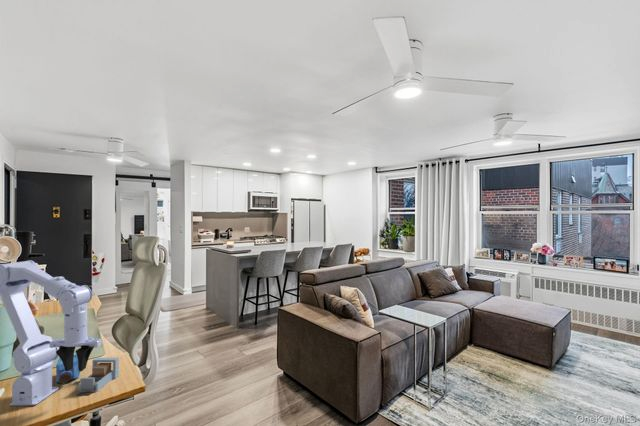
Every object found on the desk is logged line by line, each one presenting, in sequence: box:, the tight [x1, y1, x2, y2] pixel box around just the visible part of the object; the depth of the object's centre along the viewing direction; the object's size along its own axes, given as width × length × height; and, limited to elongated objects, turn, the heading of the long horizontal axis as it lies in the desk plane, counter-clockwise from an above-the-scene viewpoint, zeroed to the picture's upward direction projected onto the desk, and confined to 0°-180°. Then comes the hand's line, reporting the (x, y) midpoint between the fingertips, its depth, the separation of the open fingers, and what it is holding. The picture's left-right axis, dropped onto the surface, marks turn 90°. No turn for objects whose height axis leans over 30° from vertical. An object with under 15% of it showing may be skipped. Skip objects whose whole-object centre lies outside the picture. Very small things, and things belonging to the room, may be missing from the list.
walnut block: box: [91, 362, 112, 377], centre depth 111 cm, size 4×4×4 cm
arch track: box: [77, 357, 121, 396], centre depth 110 cm, size 16×8×7 cm, turn 2°
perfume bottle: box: [55, 354, 81, 384], centre depth 112 cm, size 6×6×12 cm
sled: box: [80, 369, 113, 391], centre depth 109 cm, size 10×4×4 cm, turn 2°
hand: (75, 369), depth 99 cm, fingers open, 3 cm apart
